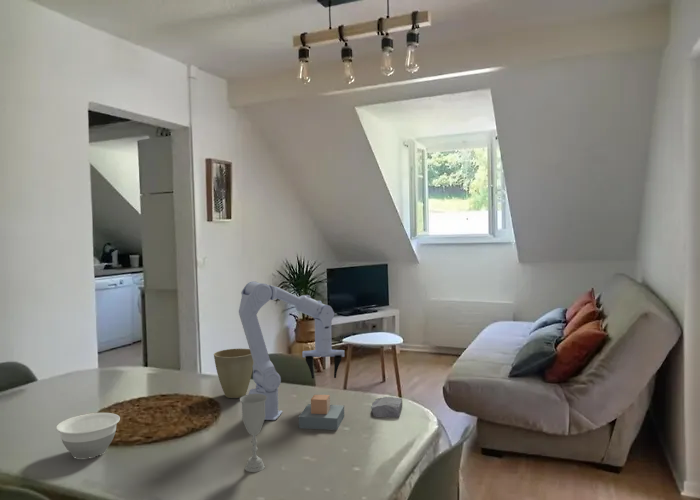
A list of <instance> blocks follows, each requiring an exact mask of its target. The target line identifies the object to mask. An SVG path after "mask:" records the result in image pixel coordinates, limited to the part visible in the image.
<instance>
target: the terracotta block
mask: <svg viewBox="0 0 700 500" xmlns="http://www.w3.org/2000/svg"><path fill="white" fill-rule="evenodd" d="M310 404H311V414H327V413H328V412H329V410H330V405H331V395H330V394H314V395H312V397H311V399H310Z"/></svg>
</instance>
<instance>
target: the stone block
mask: <svg viewBox="0 0 700 500" xmlns="http://www.w3.org/2000/svg"><path fill="white" fill-rule="evenodd" d="M370 408H371V412H372V415H373V416H374V417H379V418H399V417H400V415H401V411H402V408H403V397H394V396H383V397H379V398H376V399H375V400H374V401H373V402H372V404H371V407H370Z"/></svg>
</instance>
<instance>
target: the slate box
mask: <svg viewBox="0 0 700 500" xmlns="http://www.w3.org/2000/svg"><path fill="white" fill-rule="evenodd" d="M344 418H345V405H343V404H342V405H341V404H330V410H329V412H328V413H327V414H311V403H308V404H307V405H306V406H305V408H304V409H302V412H301V413H300V414H299V416H298V429H307V430H309V429H310V430H312V429H313V430H332V431H336V430H337V431H339V427H340V425H341V424H342V422H343V420H344Z"/></svg>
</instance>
